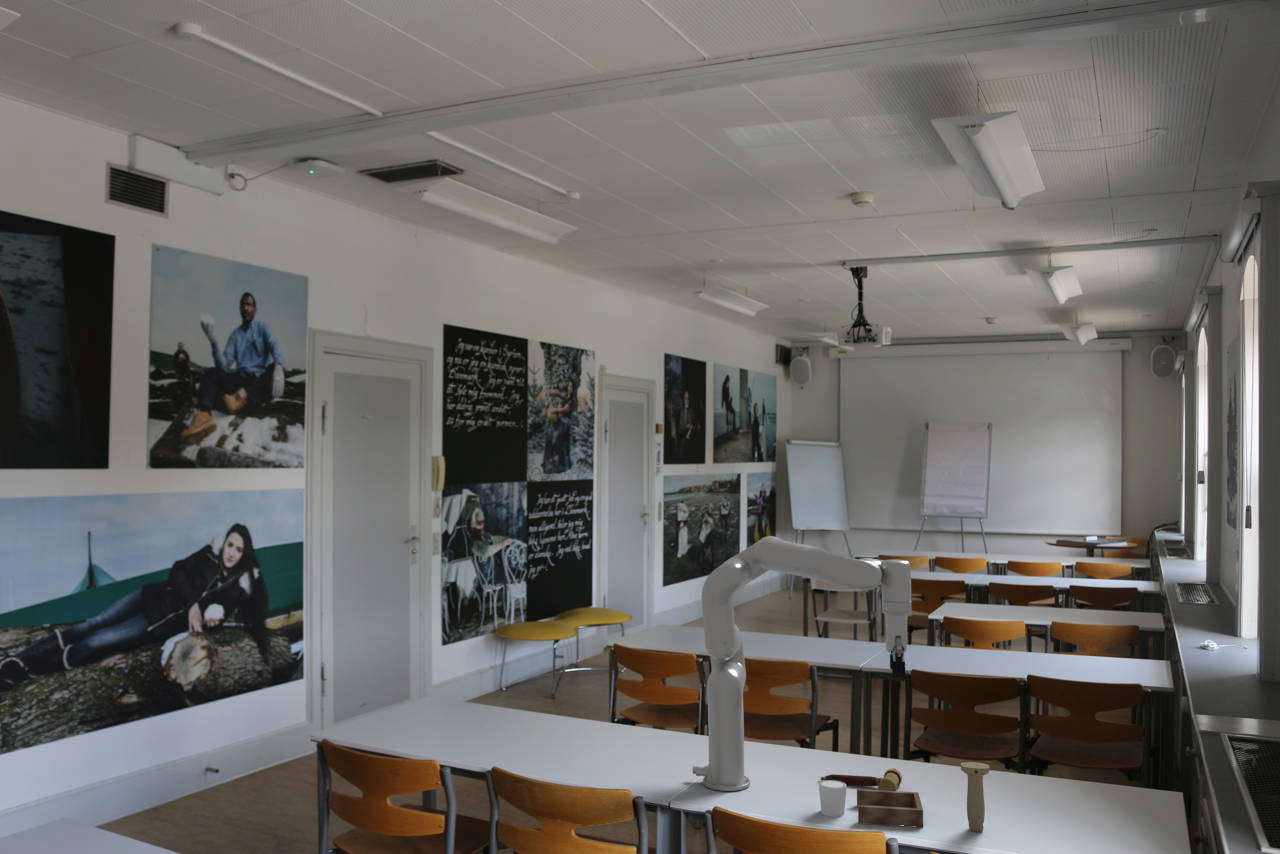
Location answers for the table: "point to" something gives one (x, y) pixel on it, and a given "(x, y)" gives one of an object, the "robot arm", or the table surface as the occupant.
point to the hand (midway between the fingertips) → (897, 673)
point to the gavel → (870, 780)
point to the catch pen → (889, 808)
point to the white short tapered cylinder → (832, 797)
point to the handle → (975, 793)
